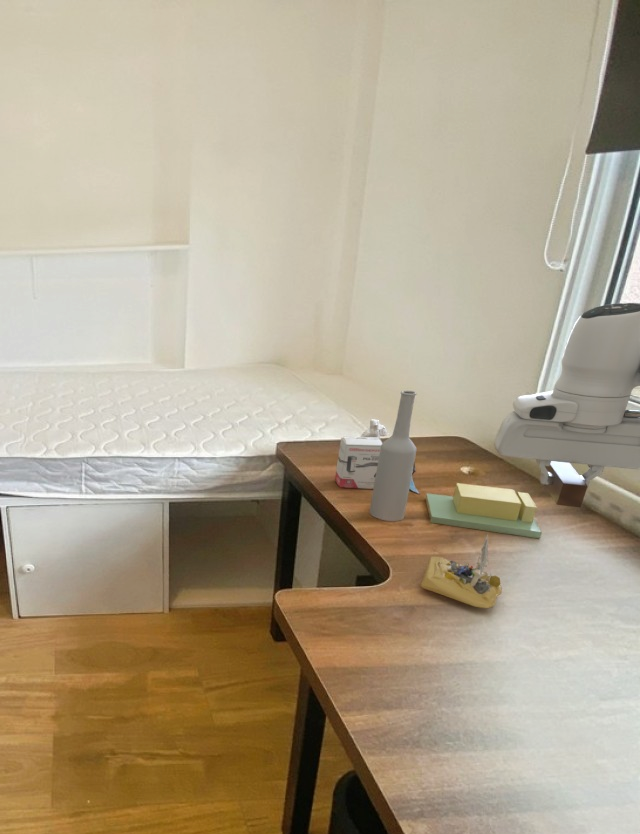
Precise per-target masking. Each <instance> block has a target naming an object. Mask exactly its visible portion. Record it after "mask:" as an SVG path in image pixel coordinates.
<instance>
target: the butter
mask: <svg viewBox="0 0 640 834" xmlns="http://www.w3.org/2000/svg"><path fill="white" fill-rule="evenodd" d="M453 501H454V504H455V507H456V511H457V513H463V514H470V515H478V516H485V517H492V518H499V519H507V520H514V521H517V518H518V515H519V511H520V507H521V502H520V500H519V498H518V497H517V492H516V491H515V489H512V488H503V487H494V486H485V485H478V484H477V485H476V484H469V483H461V482H460V483H459V482H456V483H455V487H454V491H453Z"/></svg>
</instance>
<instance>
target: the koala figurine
mask: <svg viewBox="0 0 640 834" xmlns="http://www.w3.org/2000/svg"><path fill="white" fill-rule="evenodd" d="M387 435H389V432H388V431H387V428H386V427H385V425H383V424H381V423H380V420H379V419H377V418H376V419H375V418H371V419H370V421H369V428H368V429H366V430H364V432H362V434H361V436H360V437H377V438H379V439H381V437H385V436H387Z"/></svg>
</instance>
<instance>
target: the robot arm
mask: <svg viewBox="0 0 640 834" xmlns="http://www.w3.org/2000/svg"><path fill="white" fill-rule="evenodd" d="M636 387H640V302H626V303H625V302H623V303H622V302H621V303H620V302H619V303H609V304H604V305H598V306H595V307H593V308H590V309H588V310H586V311H584V312H583V313H582V314H581V315H580V316H579V317H578V319H577V320H576V321H575V323H574V325H573V327H572V329H571V331H570V333H569V337H568V339H567V342H566V345H565V347H564V351H563V354H562V357H561V373H560V375H559V377H558V379H557V380H556V381H555V384H554V386H553V389H552V390H549V391H543V392H538V393H534V394H527V395H520V396H517V397H516V398H514V400H513V402H512V406H513V407H512V408H513V411H511V412H509V413H507V414H506V416H505V417H504V418H503V419H502V421H501V423H500V425H499V428H498V431H497V433H496V436H495V440H494V444H493V445H494V446H493V447H494V449H495V451H496V452H497V453H498V454H499V455H500V456H501V457H507V458H515V459H516V458H518V459H528V460H535V459H536V460H535V462H536V464H537V466H538V468H539V470H540V472H541V474H540V476H539V483H540V485H544V484H548V485H553V483H554V482H553V481H554V479H555V475H553V473H552V472H548V471H547V469H546V467H545V466H550V463H551V461H557V462H567V463H570V464H577V465H587V467H588V468H589V469H588V470H586V471H585V472H584V473H583V474H581V475H580V474H579V475H580V477H581V478H582V479H583V480H584V482H585V483H586V484H587V486H588V487H587V489H588V488H589V485H590V482H591V481H592V480H594V479H596V478H597V477H598V476H599V475H600V474H601V475H602V473H603V472H604V469H605V467H609V468H619V469H630V470H637V471H639V470H640V410H636V409H635V410H634V409H627V407H628V404H629V400H630V397H631V394H632V391H634V389H635V388H636Z"/></svg>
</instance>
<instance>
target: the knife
mask: <svg viewBox="0 0 640 834" xmlns="http://www.w3.org/2000/svg"><path fill="white" fill-rule="evenodd" d="M415 472H417V469H416V462H415V461H414V466H413V472H412V474H413V473H415ZM409 491H412V492H414V493H417V495H420V492H419V491H418V489H417V488H416V485H415V483H414V480H413V476H412V477H411V483H410V488H409Z"/></svg>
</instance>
